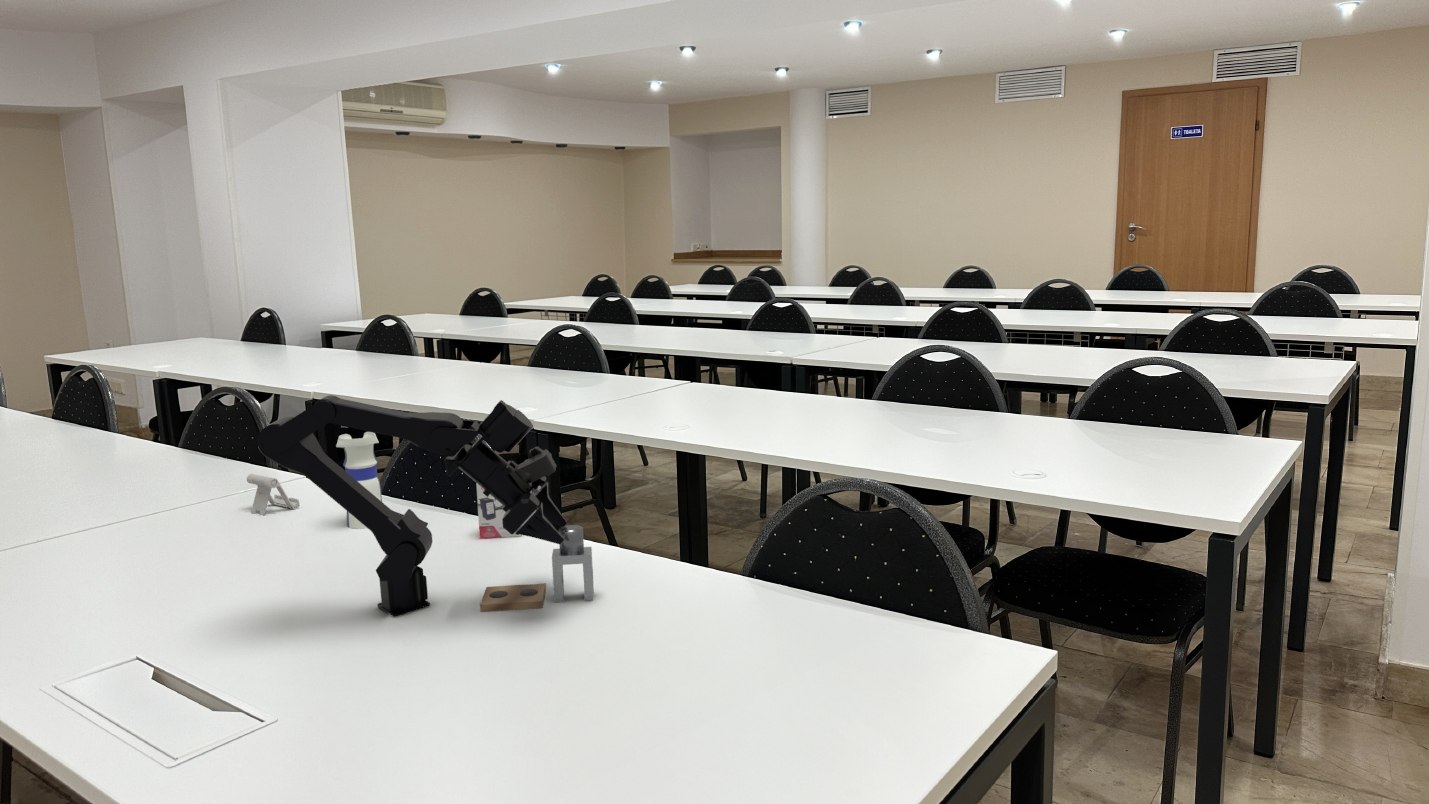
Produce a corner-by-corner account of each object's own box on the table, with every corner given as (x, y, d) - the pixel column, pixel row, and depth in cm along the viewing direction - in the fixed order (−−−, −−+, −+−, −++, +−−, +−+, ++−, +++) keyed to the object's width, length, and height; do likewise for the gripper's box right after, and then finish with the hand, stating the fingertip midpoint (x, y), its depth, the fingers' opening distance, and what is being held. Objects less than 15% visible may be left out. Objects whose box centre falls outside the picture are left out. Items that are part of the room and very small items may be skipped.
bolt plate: (480, 611, 157) (479, 604, 157) (487, 593, 165) (486, 586, 164) (542, 607, 158) (542, 600, 158) (546, 589, 166) (545, 582, 165)
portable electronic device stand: (300, 508, 220) (296, 472, 218) (268, 517, 213) (264, 480, 212) (277, 503, 224) (273, 468, 223) (245, 512, 218) (241, 476, 216)
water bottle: (342, 520, 209) (331, 407, 204) (383, 515, 212) (373, 403, 208) (345, 531, 201) (333, 414, 197) (388, 525, 205) (377, 409, 200)
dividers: (554, 602, 160) (550, 533, 158) (555, 593, 164) (552, 526, 162) (593, 600, 161) (589, 531, 158) (593, 591, 164) (590, 523, 162)
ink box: (479, 539, 194) (475, 482, 192) (481, 531, 199) (477, 476, 197) (522, 536, 195) (518, 480, 193) (523, 529, 200) (520, 474, 198)
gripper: (518, 449, 147) (595, 514, 150) (529, 425, 166) (597, 483, 169) (470, 501, 148) (547, 565, 151) (486, 471, 166) (554, 529, 169)
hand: (563, 533), depth 160 cm, fingers open, 9 cm apart
